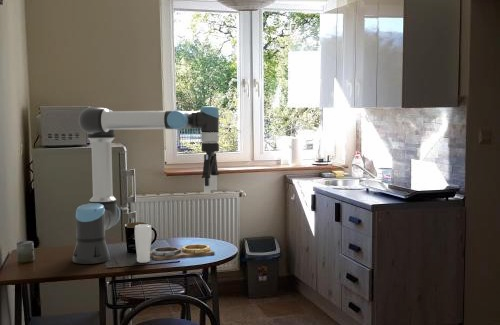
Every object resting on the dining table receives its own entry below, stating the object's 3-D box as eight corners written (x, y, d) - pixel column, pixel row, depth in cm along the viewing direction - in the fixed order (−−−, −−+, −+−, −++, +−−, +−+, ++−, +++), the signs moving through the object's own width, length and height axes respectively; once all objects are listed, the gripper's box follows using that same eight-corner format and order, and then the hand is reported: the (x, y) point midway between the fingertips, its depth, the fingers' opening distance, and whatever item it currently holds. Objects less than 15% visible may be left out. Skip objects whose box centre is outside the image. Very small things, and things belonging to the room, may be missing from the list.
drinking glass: (153, 259, 243) (153, 224, 242) (149, 263, 237) (148, 227, 236) (138, 259, 244) (137, 224, 243) (133, 263, 237) (132, 227, 236)
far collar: (186, 254, 248) (186, 250, 248) (179, 248, 259) (179, 245, 259) (212, 251, 252) (212, 248, 252) (204, 246, 263) (204, 243, 263)
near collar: (156, 256, 243) (156, 253, 243) (150, 251, 254) (150, 248, 254) (182, 254, 248) (182, 251, 248) (176, 249, 258) (176, 245, 258)
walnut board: (155, 260, 243) (155, 257, 243) (148, 254, 255) (148, 251, 255) (214, 254, 252) (214, 252, 252) (205, 248, 264) (205, 246, 264)
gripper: (212, 143, 237) (213, 195, 238) (224, 141, 261) (224, 188, 263) (194, 143, 238) (195, 195, 239) (207, 141, 263) (208, 188, 264)
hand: (210, 191), depth 251 cm, fingers open, 13 cm apart
